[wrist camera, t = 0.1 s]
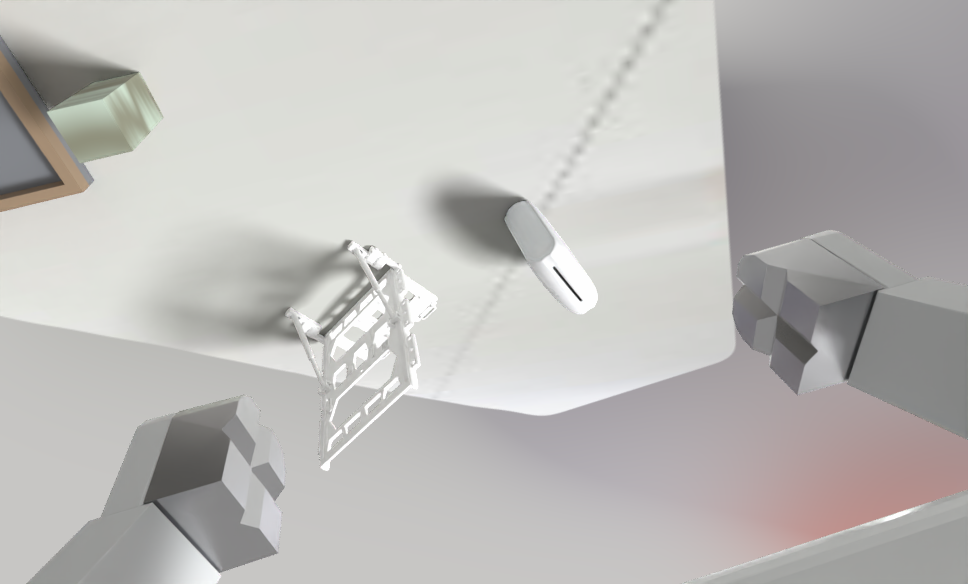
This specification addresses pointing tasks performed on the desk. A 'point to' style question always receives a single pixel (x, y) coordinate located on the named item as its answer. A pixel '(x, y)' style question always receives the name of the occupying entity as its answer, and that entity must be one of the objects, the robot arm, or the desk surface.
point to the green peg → (107, 117)
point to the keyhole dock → (31, 144)
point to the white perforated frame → (366, 346)
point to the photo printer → (551, 258)
